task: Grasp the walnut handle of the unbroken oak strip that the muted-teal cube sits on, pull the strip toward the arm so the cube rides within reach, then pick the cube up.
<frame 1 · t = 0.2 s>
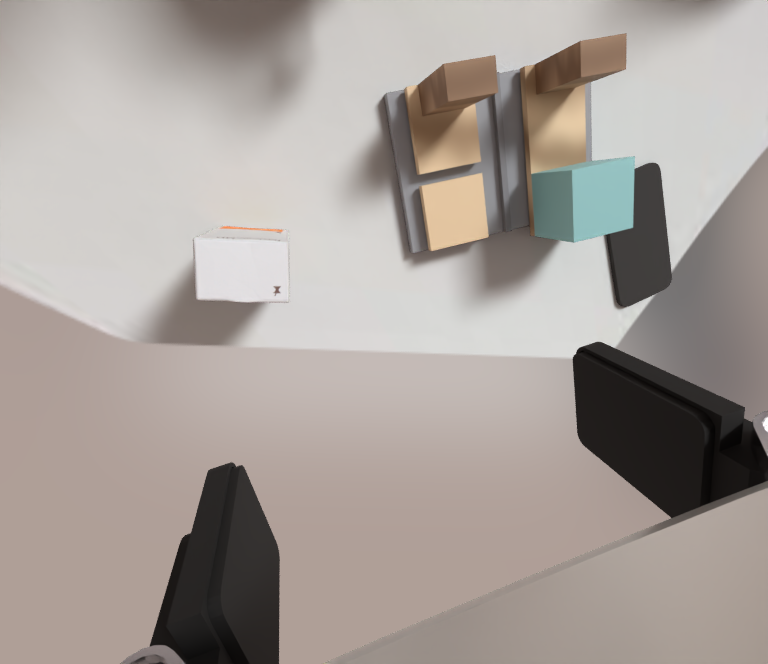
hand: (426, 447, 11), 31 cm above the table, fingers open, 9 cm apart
phone: (632, 237, 47), on the table
cube: (560, 199, 41), point 2 cm above the table, touching strip cube lane
lane board: (494, 158, 40), on the table
strip cube lane: (576, 148, 37), point 5 cm above the table, slide at 0.0 cm, touching cube
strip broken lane: (457, 121, 34), point 5 cm above the table, slide at 0.0 cm
skincare box: (255, 249, 38), on the table
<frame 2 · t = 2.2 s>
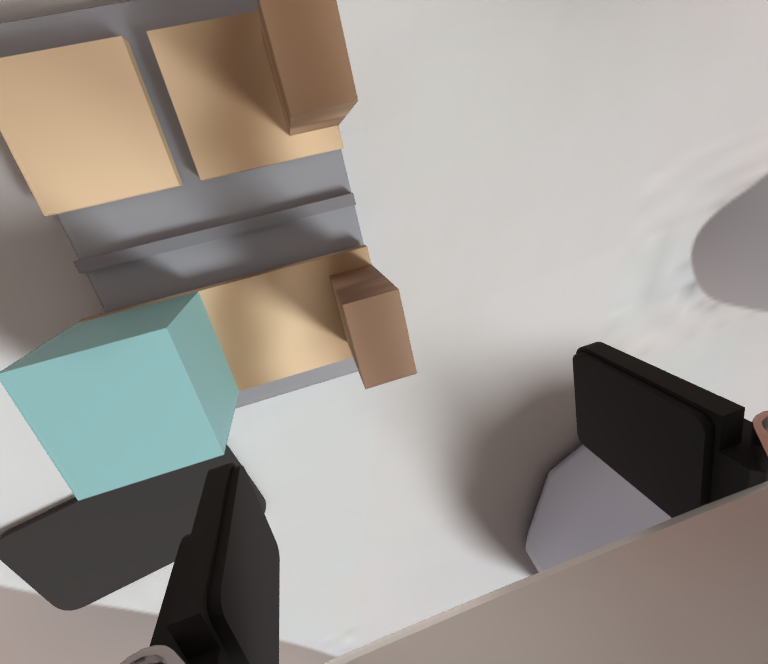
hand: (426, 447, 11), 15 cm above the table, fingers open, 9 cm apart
phone: (143, 517, 27), on the table
cube: (162, 359, 22), point 2 cm above the table, touching strip cube lane
light grey vase: (621, 500, 37), on the table
lane board: (225, 228, 22), on the table
strip cube lane: (242, 353, 20), point 5 cm above the table, slide at 0.0 cm, touching cube
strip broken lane: (247, 80, 16), point 5 cm above the table, slide at 0.0 cm
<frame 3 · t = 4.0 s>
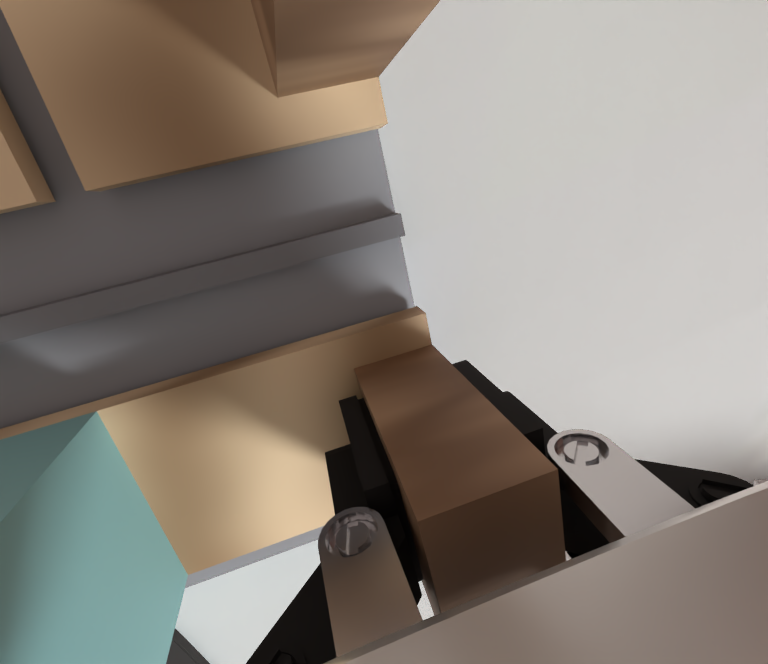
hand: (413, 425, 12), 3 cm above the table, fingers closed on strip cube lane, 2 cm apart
cube: (32, 538, 11), point 2 cm above the table, touching strip cube lane
lane board: (159, 281, 12), on the table
strip cube lane: (179, 556, 9), point 5 cm above the table, slide at 0.0 cm, touching cube, gripper
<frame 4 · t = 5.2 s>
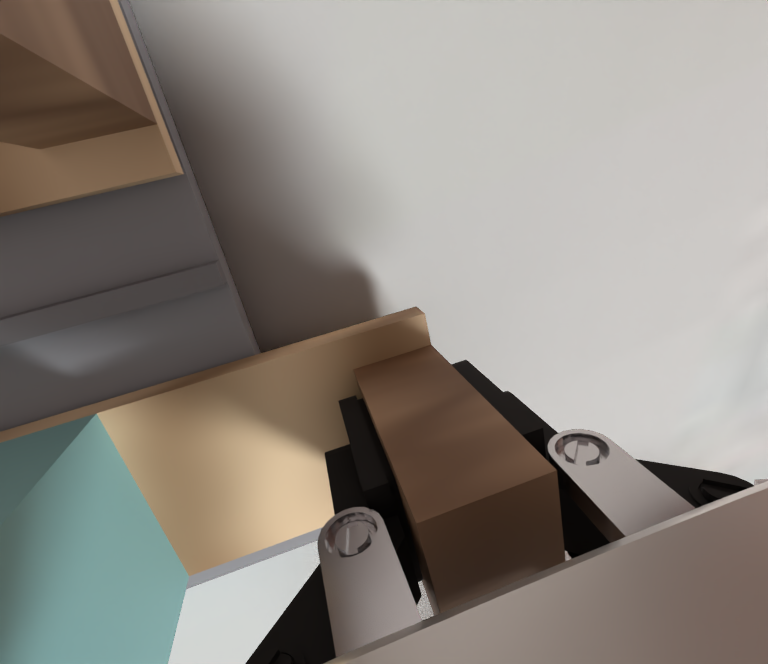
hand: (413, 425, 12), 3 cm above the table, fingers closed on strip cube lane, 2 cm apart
cube: (33, 540, 11), point 2 cm above the table, touching strip cube lane
strip cube lane: (179, 557, 9), point 5 cm above the table, slide at 5.0 cm, touching cube, gripper
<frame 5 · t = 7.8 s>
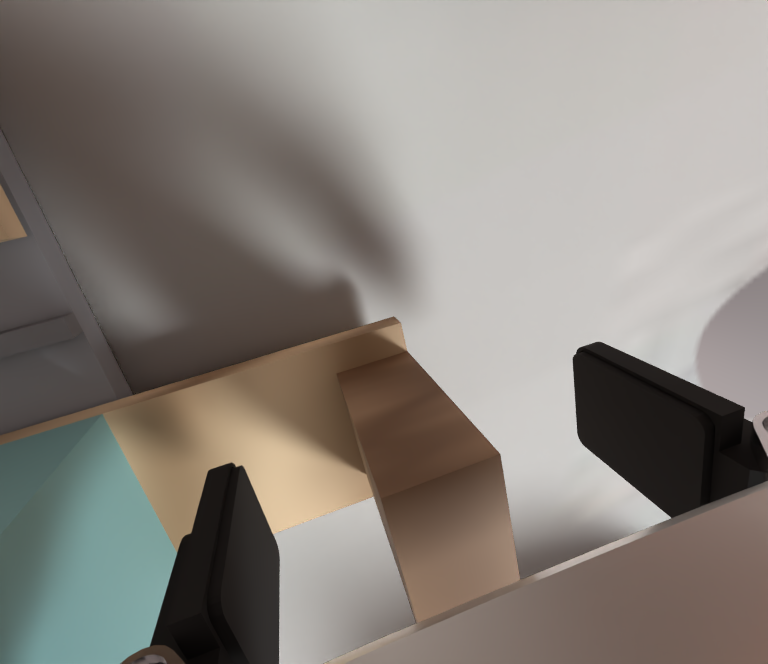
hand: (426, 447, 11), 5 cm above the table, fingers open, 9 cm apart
cube: (41, 532, 12), point 2 cm above the table, touching strip cube lane
strip cube lane: (177, 542, 10), point 5 cm above the table, slide at 9.0 cm, touching cube
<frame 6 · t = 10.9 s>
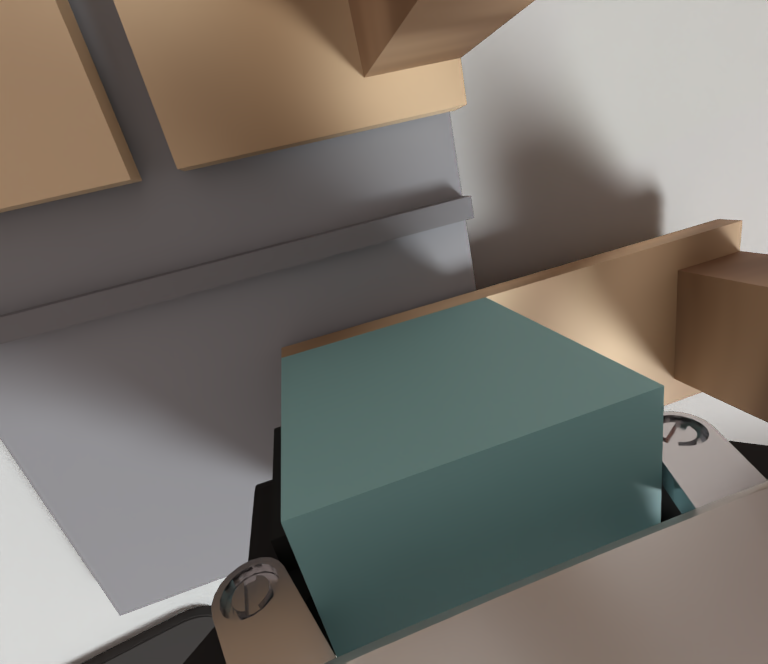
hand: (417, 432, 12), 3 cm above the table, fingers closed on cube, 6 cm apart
cube: (408, 416, 13), point 2 cm above the table, touching gripper, strip cube lane
lane board: (228, 263, 12), on the table
strip cube lane: (598, 411, 11), point 5 cm above the table, slide at 8.8 cm, touching cube
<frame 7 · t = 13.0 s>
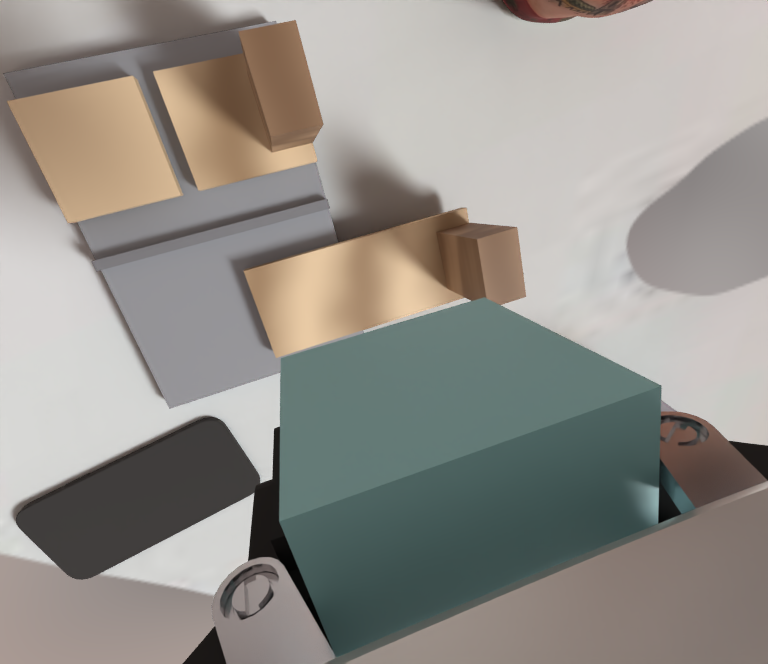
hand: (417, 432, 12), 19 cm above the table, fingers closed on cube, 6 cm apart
phone: (149, 492, 31), on the table
cube: (407, 416, 13), point 18 cm above the table, touching gripper
lane board: (219, 232, 26), on the table
strip cube lane: (380, 290, 25), point 5 cm above the table, slide at 8.8 cm
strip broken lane: (236, 109, 20), point 5 cm above the table, slide at 0.0 cm
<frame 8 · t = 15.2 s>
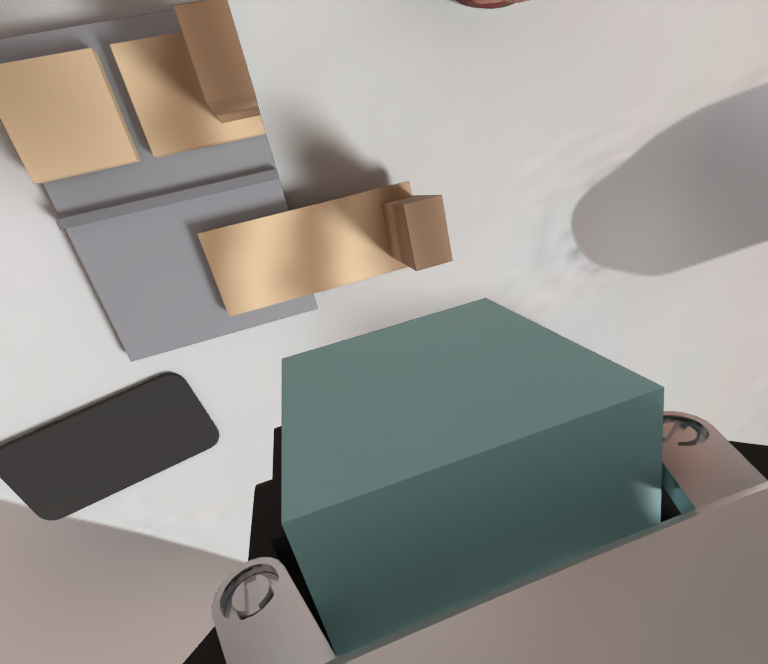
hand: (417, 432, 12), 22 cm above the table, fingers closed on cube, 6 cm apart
phone: (115, 442, 33), on the table
cube: (408, 417, 13), point 22 cm above the table, touching gripper
lane board: (177, 197, 28), on the table
strip cube lane: (322, 253, 27), point 5 cm above the table, slide at 8.8 cm
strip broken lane: (182, 79, 22), point 5 cm above the table, slide at 0.0 cm
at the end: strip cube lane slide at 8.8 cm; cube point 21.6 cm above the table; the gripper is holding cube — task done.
